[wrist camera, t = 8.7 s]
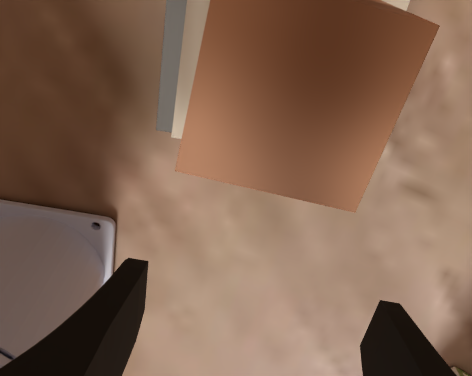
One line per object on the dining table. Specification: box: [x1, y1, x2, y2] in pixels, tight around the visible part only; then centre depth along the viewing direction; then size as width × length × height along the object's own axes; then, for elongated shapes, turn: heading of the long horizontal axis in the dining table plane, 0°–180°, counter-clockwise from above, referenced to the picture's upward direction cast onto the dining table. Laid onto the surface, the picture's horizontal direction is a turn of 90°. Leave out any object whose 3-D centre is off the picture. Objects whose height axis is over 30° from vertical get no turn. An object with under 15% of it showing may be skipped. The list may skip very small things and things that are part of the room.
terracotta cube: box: [175, 0, 440, 212], centre depth 13 cm, size 5×5×5 cm
